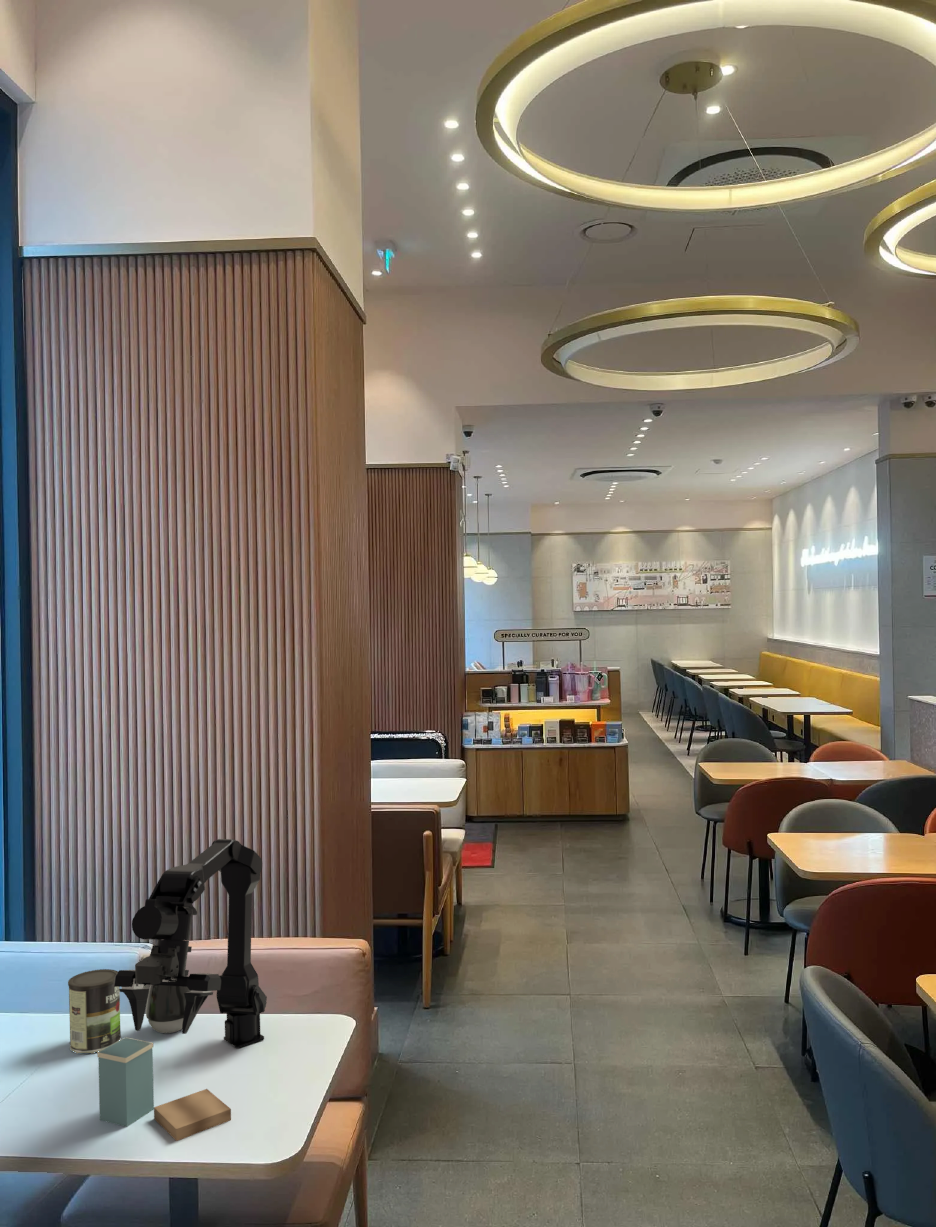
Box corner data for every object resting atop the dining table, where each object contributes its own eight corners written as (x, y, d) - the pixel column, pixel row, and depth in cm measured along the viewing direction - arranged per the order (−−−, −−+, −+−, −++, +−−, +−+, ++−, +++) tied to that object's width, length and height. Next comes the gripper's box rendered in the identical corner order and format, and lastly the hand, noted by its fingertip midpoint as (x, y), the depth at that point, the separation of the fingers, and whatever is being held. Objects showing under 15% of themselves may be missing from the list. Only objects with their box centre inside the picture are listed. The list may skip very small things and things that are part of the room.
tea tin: (127, 1102, 173) (125, 1037, 173) (154, 1109, 170) (153, 1043, 170) (98, 1120, 167) (97, 1052, 167) (127, 1127, 164) (125, 1058, 164)
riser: (207, 1102, 173) (206, 1089, 173) (231, 1123, 165) (230, 1109, 165) (154, 1121, 166) (153, 1107, 166) (176, 1144, 159) (176, 1129, 159)
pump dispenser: (204, 1020, 209) (202, 952, 209) (178, 1040, 199) (176, 969, 199) (164, 1017, 212) (163, 950, 212) (136, 1036, 202) (135, 966, 202)
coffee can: (128, 1033, 204) (127, 968, 204) (109, 1054, 194) (108, 985, 194) (82, 1034, 204) (80, 969, 204) (60, 1055, 194) (59, 987, 194)
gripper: (103, 937, 167) (88, 1033, 162) (198, 941, 163) (186, 1039, 158) (136, 938, 177) (123, 1028, 172) (227, 942, 173) (216, 1034, 168)
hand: (160, 1032), depth 167 cm, fingers open, 9 cm apart
